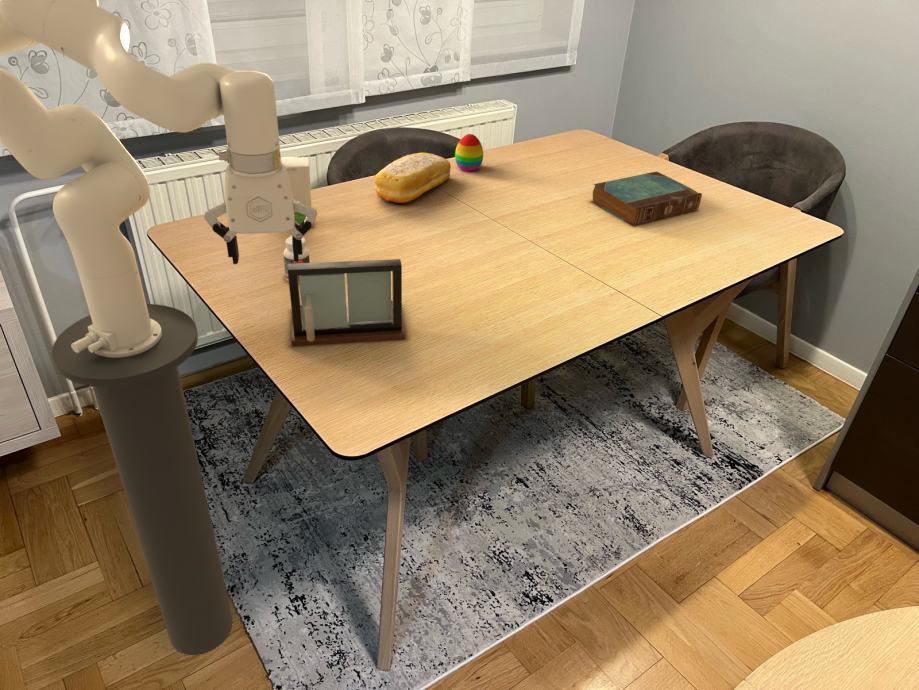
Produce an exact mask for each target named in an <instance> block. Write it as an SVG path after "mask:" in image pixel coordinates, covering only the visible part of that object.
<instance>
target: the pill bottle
mask: <svg viewBox="0 0 919 690" xmlns="http://www.w3.org/2000/svg"><path fill="white" fill-rule="evenodd" d="M310 260H311V259H310V251H309V249H308V248H307V247H306V239H305V238H304V237H303V238H302V255H299V262H295V261H294V255H293V244H292V236H289V237H288V238H286V239H285V249H284V250H283V264H284V275H285V280H286V281H287V282H289V279H288V264H296V263H311V261H310ZM298 284H299V276H298Z"/></svg>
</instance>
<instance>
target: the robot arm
mask: <svg viewBox="0 0 919 690" xmlns="http://www.w3.org/2000/svg"><path fill="white" fill-rule="evenodd" d="M128 27H129V26H128V25H127V23H126V22H125V21H124V20H123V19H122V18H121V17H120V16H119V15H116V14H114V13H112V12H110V11H108V10H107V9H105V8H103V7H101V6H99V0H0V57H1V56H4V55H8V54H11V53H15V52H18V51H21V50H24V49H28V48H30V47H31V48H32V47H33V46H36V45H39V44H42V45H44V46H46V47H48V48H49V49H51V50H53V51H55V52H56V53H59V54H61V55H63V56H64V57H67V58H69V59H70V60H72V61H74V62H76V63H78V64H80V65H82V66H83V67H85V68H87V69H89V70H91V71H93V72H94V73H96V75H97V76H98V79H99V80H100V82H101V84H102V85H103V86H104V88H105V89H106V90H107V91H108V93H109V94H110V95H111V96H112V98H114V100H115V101H116V102H117V103H118V104H119V105H121V106H122V107H123V108H124V109H126V110H127V111H129V112H130V113H132V114H134V115H136V116H138V117H139V118H142V119H144V120H146V121H148V122H149V123H151V124H153V125H155V126H158V127H160V128H162V129H165V130H167V131H171V132H175V133H188V132H189V133H190V132H192V131H194V130H196V129H197V130H198V128H200V127H201V126H203V125H205V124H206V123H208V122H209V121H211V120H215V119H216V118H220V117H222V116H223V121H224V129H225V136H226V143H227V148H225V149H226V150H224V149H223V151H222V150H221V151H218V159H219V161H224V162H227V164H228V165H227V166H226V168H225V172H224V198H225V200H224V201H223V202H222V203H220V204H217V205H216V206H214V207H212V208H210V209H209V210H207V211H205V213H204V215H203V218H204V220H205V222H207V224H208V225H209V227H211V229H212V231H213V232H214V233H215V234H216V235H218V236H219V237H220V238H222V239H223V242H225V244H226V250H227V257H228V258H232V259H231V260H232V265H237V264H239V260H240V259H239V258H240V251H239V244H238V238H237V234H239V235H240V234H241V235H245V234H247V235H250V234H278V233H279V234H280V233H287V232H288V233H289V234H290V235H291V237H292V244H293V255H294V261H295V262H299V255H302V238H304V236H305V235H306V234H307V233H308V232H309V231H310V230H311V229H312V228H313V225H314V223H315V221H316V219H317V217H318V209H316V208H314V207H312V206H311V207H310V206H307V205H305V204H303V203H301V202H298V201H296V200H294V199H293V196H292V190H291V184H290V180H289V176H288V172H287V169H286V166H285V164H283V163H281V146H280V135H279V134H280V133H279V124H278V113H277V102H276V101H277V100H276V92H275V84H274V81H273V80H272V78H271V76H269V75H268V74H266V73H264V72H261V71H258V70H238V69H234V68H230V67H227V66H223V65H221V64H217V63H212V62H200V63H199V62H198V63H196V64H193V65H191V66H189V67H186V68H183V69H182V70H179V71H177V72H175V73H173V74H171V75H166V74H164V73H162V72H160V71H157V70H156V69H154V68H152V67H150V66H148V65H146V64H144V63H142V62H141V61H140V60H138V59H136V58H135V57H134V56H132V54H130V53H129V52H128V51H129V47H130V30H129V28H128ZM0 142H1V144H2V145H3V146H4V147H5V148H6V149H7V151H8V152H9V153H10V154H11V155H12V156H13V157H14V159H15V160H16V161H17V162H18V163H19V164H20V165H21V166H22V168H24V170H26V172H28V173H29V174H30V175H32V176H33V177H35V178H36V179H40V180H46V181H47V180H53V179H56V178H59V177H61V176H64V175H66V174H67V173H70V172H71V171H74V170H75V169H77V168H79V167H81V168H82V169H83V170H84V172H83V173H82V174H80V175H78V176H76V177H75V178H73V179H71V180H70V181H68V182H66V183H65V184H64V185H63V186H62V187H61V188H60V189H59V190H58V191H57V193H56V194H55V195H54V198H53V202H52V211H53V216H54V218H55V220H56V222H57V224H58V227H59V228H60V230H61V232H62V233H63V235H64V237H65V239H66V241H67V244H68V246H69V249H70V252H71V255H72V258H73V261H74V264H75V269H76V271H77V273H78V274H77V275H78V278H79V280H80V284H81V288H82V291H83V294H84V298H85V301H86V306H87V308H88V313H89V315H90V316H91V319H92V323H93V324H92V325H90V326H88V330H89V333H87V334H86V335H85V336H86V337H84V338H82V339H80V340H78V341H76V342H74V343H72V344H71V347H72V349H73V350H74V351H75V352H76V353H79V352H81V351H83V350H84V349H86V348H87V347H88V350H89V351H90V352H91V353H93V352H94V353H96V354H98V355H100V356H104V357H110V358H122V357H129V356H133V355H137V354H140V353H142V352H145V351H147V350H149V349H150V348H152V347H153V346H154V345H156V344H157V343H158V341H159V340H160V338H161V336H162V331H161V327H160V325H159V324H158V323H157V322H156V321H154V320H152V319H150V318H149V314H148V309H147V305H146V304H147V301H146V297H145V293H144V289H143V285H142V280H141V275H140V272H139V271H140V270H139V267H138V262H137V259H136V253H135V251H134V249H133V246H132V243H131V242H130V241H129V240H128V239H127V238H126V237H125V235H124V234H123V233H122V231H121V229H120V225H122V223H123V222H125V221H126V220H127V219H128V218H130V217H131V216H132V215H134V214H135V213H136V212H138V211H139V210H141V209H142V208H143V207H145V205H146V204H147V203H148V202H149V199H150V195H151V187H150V182H149V179H148V178H147V176H146V174H145V172H144V171H143V169H142V168H141V167H140V165H139V164H138V162H137V161H136V160H135V158H134V157H133V156H132V155H131V154H130V152H129V151H128V150H127V149H126V147H125V146H124V144H122V142H121V141H120V140H119V138H118V137H117V136H116V135H115V133H114V132H113V131H112V130H111V129H110V127H109V126H108V124H106V122H104V120H103V119H102V118H101V117H100V116H99V115H98V114H96V113H95V112H93V110H91V109H89V108H87V107H85V106H83V105H79V104H76V103H65V104H60V105H58V106H55V107H53V108H51V109H48V108H47V106H45V105H44V104H43V103H42V102H41V101H40V100H39V99H38V98H37V96H36V95H35V94H34V93H33V91H32V90H31V89H30V87H29V86H28V85H27V84H26V83H24V82H23V81H22V80H21V79H19V77H17V76H16V75H15V74H13V73H11V72H10V71H8V70H6V69H4V68H2V67H0ZM294 211H297V212H299V213H301V214H304V215H306V219H305V220H304V221H303V222H302V223H301V224H300V225H299V224H298V223H297V222H296V221H295V218H294ZM225 214H226V221H227V226H226V225H224V224H223V223H222V222H221V221H219V220H218V218H219V217H221V216H222V215H225ZM311 227H312V228H311Z"/></svg>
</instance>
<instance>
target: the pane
mask: <svg viewBox="0 0 919 690" xmlns="http://www.w3.org/2000/svg"><path fill="white" fill-rule="evenodd" d="M345 274H346V273H344V274H321V275H299V283H298V285H299V295H300V305H302V316H303V327H304V328H306V333H307V340H308V341H314V339H315V333H314V328H318V327H336V326H347V312H346V303H347V295H346V294H347V293H346V292H347V291H346V278H345V277H346V275H345Z"/></svg>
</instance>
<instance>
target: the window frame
mask: <svg viewBox="0 0 919 690" xmlns="http://www.w3.org/2000/svg"><path fill="white" fill-rule="evenodd" d="M402 265H403V264H402V261H401V259H400V258H395V259H393V258H392V259H372V260H371V259H369V260H349V261H348V260H347V261H345V260H343V261H323V262H320V261H319V262H310V263H296V264H288V279H289V281H288V288H289V289H288V290H289V296H290V298H289V299H290V307H291V346H292V347H298V346H299V347H300V346H313V345H316V346H317V345H330V344H331V345H333V344H347V343H350V344H351V343H364V342H380V341H399V340H406V331H405V327H404V322H403V292H402V291H403V288H402V287H403V279H402V278H403V274H402V273H403V266H402ZM321 274H346V289H347V291H346V292H347V302H346V312H347V326H336V327H318V328H314V333H315V339H314V341H308V340H307V333H306V328H304V327H303V316H302V305H301V295H300V284H299V283H298V276H299V275H321Z"/></svg>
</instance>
